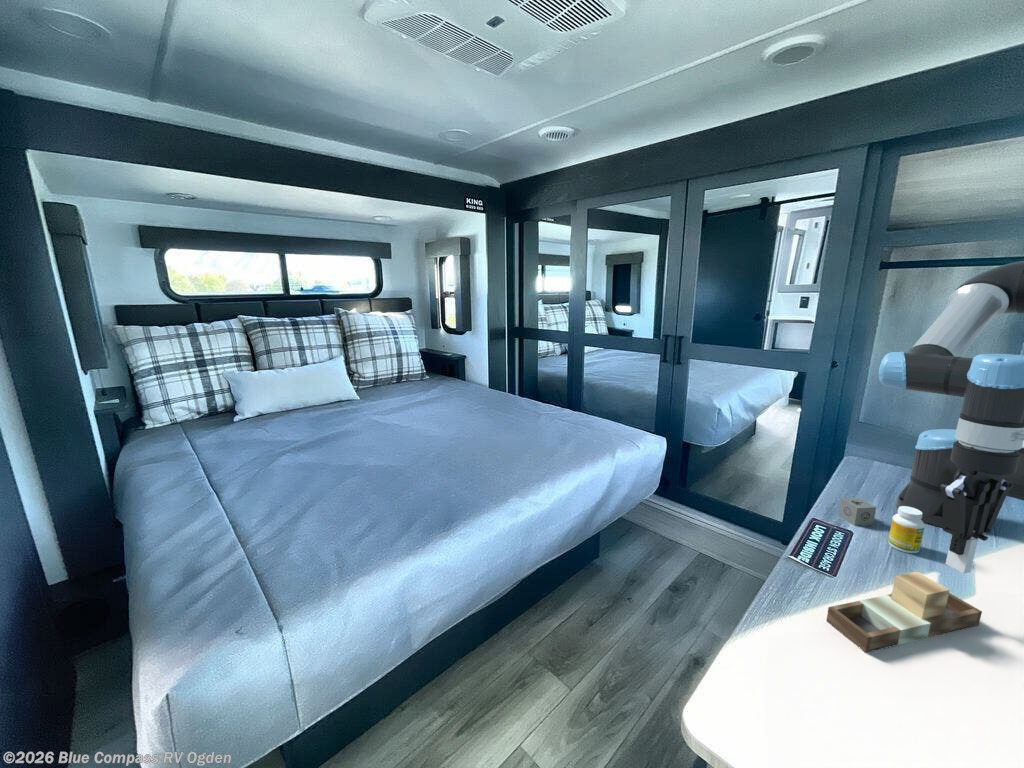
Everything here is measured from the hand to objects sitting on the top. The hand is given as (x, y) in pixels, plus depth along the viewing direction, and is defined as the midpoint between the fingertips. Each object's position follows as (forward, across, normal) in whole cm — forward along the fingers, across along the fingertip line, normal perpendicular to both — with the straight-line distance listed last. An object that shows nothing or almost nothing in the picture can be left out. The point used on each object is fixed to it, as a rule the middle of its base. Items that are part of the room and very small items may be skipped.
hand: (957, 567), depth 74 cm
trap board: (+10, -10, 0) cm, 14 cm away
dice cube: (+10, +16, +30) cm, 35 cm away
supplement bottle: (+10, +14, +18) cm, 25 cm away
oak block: (+7, -8, 0) cm, 10 cm away
